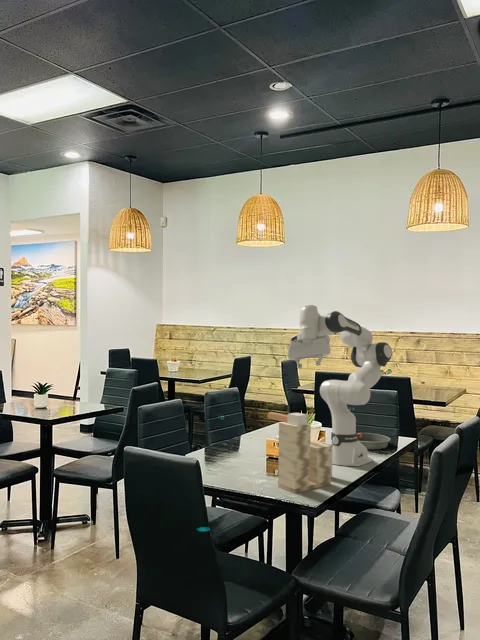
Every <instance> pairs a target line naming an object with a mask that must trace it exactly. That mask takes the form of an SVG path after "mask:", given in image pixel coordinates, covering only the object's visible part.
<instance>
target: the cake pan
mask: <svg viewBox="0 0 480 640" xmlns="http://www.w3.org/2000/svg"><path fill="white" fill-rule="evenodd" d="M357 433H358V432H356V434H357ZM360 433H361V434H362V437H361V438H359V437H358V441H359V442H360V443H361V444H363V445H364V446H365V447H366V448H367V450H381V449H382V448H383V449H385V448H387V447H388V445H389V442H390V441H391V440H392V439H391V437H389V436H387V435H383V434H379V433H372V432H360Z"/></svg>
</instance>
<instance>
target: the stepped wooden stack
mask: <svg viewBox="0 0 480 640" xmlns="http://www.w3.org/2000/svg"><path fill="white" fill-rule="evenodd" d="M311 426H312V424H310V423H307V425H302V426H295V425H291V424H288V423H286V422H282V421H280V422H278V469H277V470H278V471H277V472H278V474H277V487H278V488H280V489H283V490H286V491H289V492H290V493H294V494H298V493H301V492H306V491H309V490H314V489H317V488H322V487H325V486H330V485H331V478H332V477H331V446H330V445H326V444H322V443H318V442H317V441H311Z"/></svg>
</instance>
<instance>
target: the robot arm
mask: <svg viewBox="0 0 480 640" xmlns="http://www.w3.org/2000/svg"><path fill="white" fill-rule="evenodd" d="M298 323H299V326H300V327H299V332H298V333H297V334H295V335H294V336H292V337H290V338H289V345H288V349H287V357H288V359H289V360H291V361H295V363H296V365H297V366H296V368H298V369H302V368H303V367H302V366H303V364H302V363H300V362H301V360H303V359H305V360H306V359H310V358H318V359H317V360H315V365H316V366H321V362H322V361H323V358H324V357H325V356H329V355H330V354H331V346H330V341H331V338H330V336H331V335H334V334H338V333H340V335H339V336H340V340H341V341H342V343H343V344H344V345H346V346H349V347H352V350H351V353H350V361H351V363H352V365H354V366H355V367H356V368H358V369H357V370H354V371H353V372H352V373H351V374H349V376H348V379H347V380H340V379H328V380H324V381H323V382H322V383H321V384H320V386H319V395H320V397H321V399H323V401H324V402H325V403H326V404H327V406H328V408H329V410H330V415H331V424H332V425H331V426H332V428H331V429H332V430H331V432H330V433H331V434H330V439H331V442H330V444H333V456H332V465H335V466H345V467H347V466H348V467H349V466H350V467H361V466H364V465H366V464H368V463H372V462H373V461H374V459H373V458H372V457H370V456H369V451H368V449H367V448H366V447H365V446H364V445H363V444H361V443H360V442H359V441H358V437H359V438H361V437H362V434H361V433H362V432H356V431H357V430H356V429H357V425H356V423H357V419H356V416H355V414H354V413H353V412H351V411H350V409H349V408H348V406H349V405H350V406H363V405H366V404H368V403H369V400H370V399H371V390H370V389H371V388H373V387H374V386H375V385H377V383H378V381H379V380H380V379H381V377H382V370H381V367H386V366H387V365H388V362H390V361H391V359H392V357H393V350H392V347H391V346H390V344H389V343H387V342H385V341H383V342H382V341H381V342H380V341H379V342H376V343H373V340H374V339H373V338H374V337H373V333H372V331H370V330H369V329H367V328H365V327H364V326H361V325H360V324H359V323H358V322H356V321H354V320H352V319H350V318H349V317H346V316H345V315H344V314H342V313H341V312H340V311H336V310H335V311H331V312H330V313H328V314H324V315H321V314H320V313H319V310H318V307H317V306H316V305H313V304H308V305H305V306H303V307H301V309H300V311H299V322H298ZM356 433H357V434H356Z"/></svg>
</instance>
